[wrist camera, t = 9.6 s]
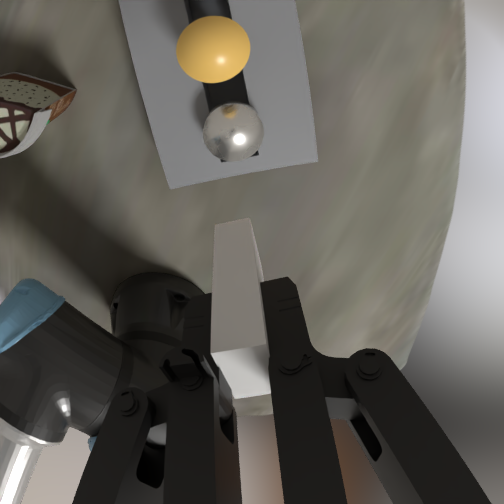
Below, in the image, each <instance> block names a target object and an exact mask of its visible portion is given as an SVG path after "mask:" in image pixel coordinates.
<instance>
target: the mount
mask: <svg viewBox="0 0 504 504" xmlns="http://www.w3.org/2000/svg"><path fill="white" fill-rule="evenodd" d="M119 5H120V10H121V14H122V19H123V23H124V27H125V31H126V36H127V40H128V44H129V48H130V52H131V56H132V60H133V64H134V68H135V72H136V76H137V79H138V83H139V87H140V90H141V94H142V98H143V101H144V105H145V109H146V112H147V116H148V119H149V123H150V126H151V129H152V133H153V136H154V140H155V143H156V146H157V150H158V153H159V156H160V159H161V163H162V166H163V169H164V172H165V175H166V179H167V182H168V185H169V188H170V189H174V188H179V187H183V186H188V185H192V184H197V183H201V182H206V181H211V180H216V179H221V178H226V177H231V176H236V175H241V174H246V173H252V172H257V171H263V170H269V169H274V168H280V167H286V166H293V165H299V164H305V163H312V162H318V156H317V146H316V136H315V127H314V119H313V111H312V103H311V95H310V88H309V81H308V74H307V67H306V61H305V54H304V48H303V42H302V36H301V30H300V25H299V19H298V14H297V9H296V4H295V0H119ZM207 16H222V17H226V18H229V19H231V20H233V21H235V22H237V23H238V24H239V25H240V26H241V27H242V28H243V29H244V30H245V32H246V33H247V35H248V38H249V41H250V55H249V59H248V61H247V63H246V65H245V66H244V68H243V69H242V70H241V71H240V72H239V73H238V74H237V75H235V76H234V77H232V78H230V79H228V80H226V81H223V82H218V83H205V82H201V81H198V80H195V79H193V78H192V77H190V76H189V75H187V74H186V73H185V72H184V71H183V69H182V68H181V66H180V65H179V63H178V60H177V55H176V46H177V42H178V39H179V37H180V35H181V33H182V32H183V30H184V29H185V28H186V27H187V26H188V25H189V24H191V23H192V22H194V21H196V20H198V19H200V18H203V17H207ZM226 101H241V102H244V103H247V104H248V105H250V106H251V107H253V108H254V109H255V110H256V112H257V113H258V115H259V116H260V119H261V121H262V124H263V128H264V137H263V141H262V144H261V146H260V148H259V149H258V150H257V151H256V152H255V153H254V154H253V155H252V156H250V157H249V158H247V159H244V160H241V161H235V162H231V161H225V160H222V159H219V158H217V157H216V156H214V155H213V154H212V153H211V152H210V151H209V150H208V148H207V147H206V145H205V143H204V139H203V128H204V124H205V121H206V118H207V116H208V114H209V113H210V112H211V110H212V109H213V108H214V107H216V106H217V105H219V104H220V103H223V102H226Z"/></svg>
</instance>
